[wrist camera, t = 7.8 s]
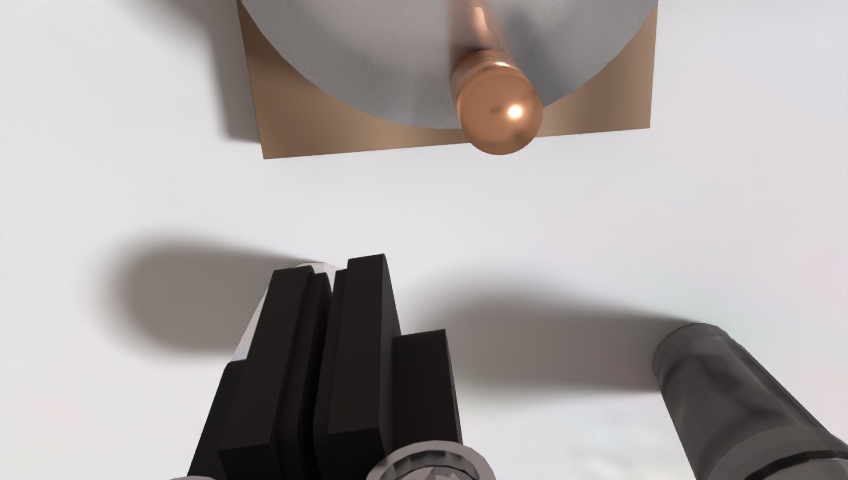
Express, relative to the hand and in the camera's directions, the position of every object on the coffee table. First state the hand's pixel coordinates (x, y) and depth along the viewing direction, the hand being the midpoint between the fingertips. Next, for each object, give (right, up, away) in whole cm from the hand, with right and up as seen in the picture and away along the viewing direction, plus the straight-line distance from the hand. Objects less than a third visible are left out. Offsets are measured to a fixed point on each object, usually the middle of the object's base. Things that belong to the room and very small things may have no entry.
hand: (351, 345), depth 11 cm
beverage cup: (+16, -5, +29) cm, 33 cm away
